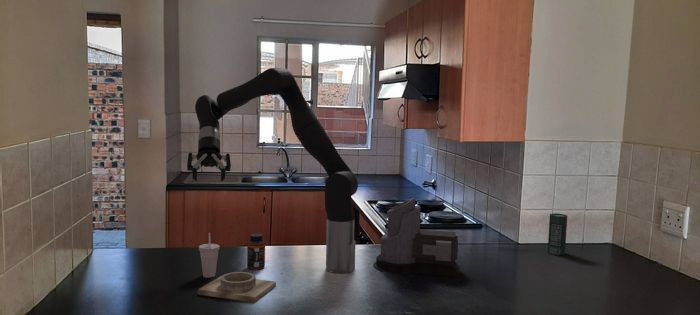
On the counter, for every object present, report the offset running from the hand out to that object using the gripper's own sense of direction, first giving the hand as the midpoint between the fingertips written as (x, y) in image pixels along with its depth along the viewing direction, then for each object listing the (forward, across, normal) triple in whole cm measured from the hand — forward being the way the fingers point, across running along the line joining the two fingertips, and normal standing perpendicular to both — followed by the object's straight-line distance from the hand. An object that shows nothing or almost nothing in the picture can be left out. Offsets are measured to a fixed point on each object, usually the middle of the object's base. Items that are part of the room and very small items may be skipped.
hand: (209, 179), depth 177 cm
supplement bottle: (+24, +16, +17) cm, 34 cm away
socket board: (+39, +9, +1) cm, 40 cm away
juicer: (+31, +69, +8) cm, 77 cm away
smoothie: (+29, 0, +13) cm, 32 cm away
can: (+25, +131, +13) cm, 134 cm away
